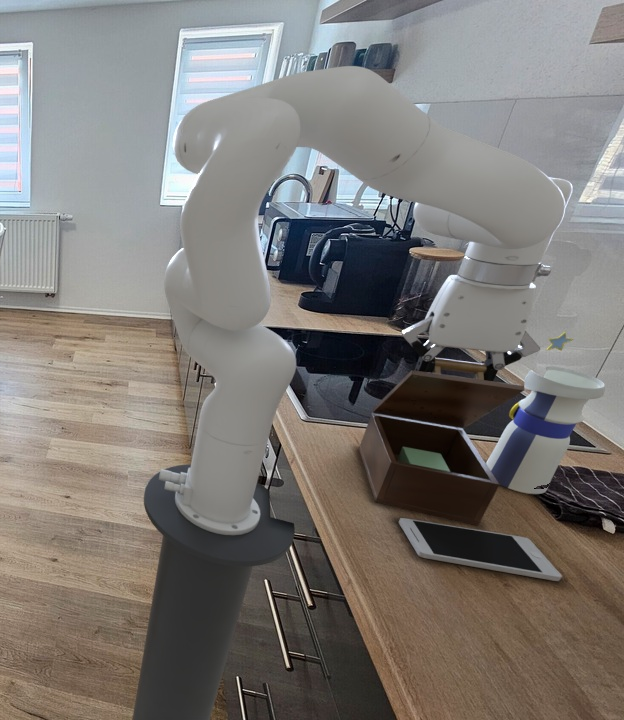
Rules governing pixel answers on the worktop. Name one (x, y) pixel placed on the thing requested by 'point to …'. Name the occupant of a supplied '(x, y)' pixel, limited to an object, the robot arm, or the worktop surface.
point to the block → (422, 458)
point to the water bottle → (542, 425)
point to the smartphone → (478, 549)
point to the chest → (426, 469)
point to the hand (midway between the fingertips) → (448, 384)
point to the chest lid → (446, 395)
